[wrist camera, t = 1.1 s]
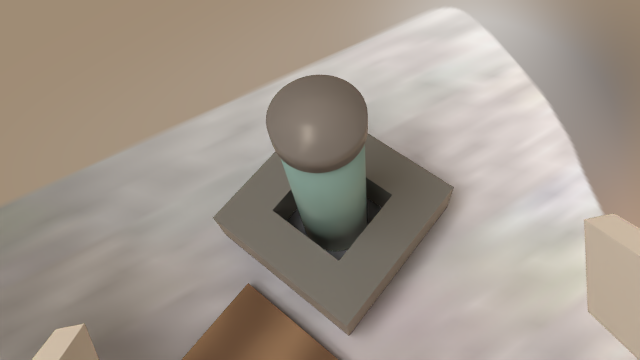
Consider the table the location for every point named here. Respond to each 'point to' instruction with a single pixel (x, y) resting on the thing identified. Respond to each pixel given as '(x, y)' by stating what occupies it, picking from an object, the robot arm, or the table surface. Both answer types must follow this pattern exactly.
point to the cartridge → (323, 155)
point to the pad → (256, 334)
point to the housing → (364, 254)
